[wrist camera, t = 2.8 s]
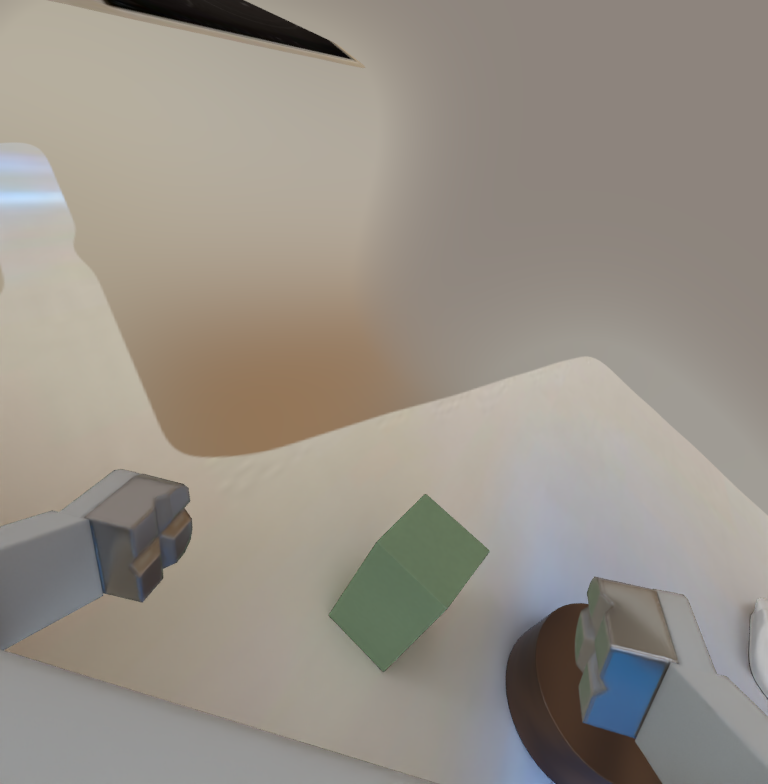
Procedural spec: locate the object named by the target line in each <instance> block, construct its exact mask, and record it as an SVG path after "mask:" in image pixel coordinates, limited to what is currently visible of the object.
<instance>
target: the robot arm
mask: <svg viewBox="0 0 768 784" xmlns="http://www.w3.org/2000/svg"><path fill="white" fill-rule="evenodd" d="M189 502H190V496H189V488H188V487H187V486H185V485H184V484H182V483H178V482H174V481H170V480H166V479H162V478H158V477H154V476H150V475H146V474H140V473H136V472H132V471H128V470H124V469H119V470H114V471H113V472H111V473H110V474H109V475H107V476H106V477H105V478H103V479H102V480H101V481H99V482H98V483H97V484H95V485H94V486H93V487H91V488H90V489H89V490H87V491H86V492H85V493H84V494H82V495H81V496H80V497H78V498H77V499H76V500H74V501H73V502H72V503H70V504H69V505H68V506H66V507H65V508H64V509H62V510H61V511H60V512H57V511H53V510H52V511H49V512H46V513H43V514H39V515H36V516H33V517H30V518H26V519H23V520H20V521H17V522H13V523H10V524H7V525H4V526H0V784H438V783H434V782H431V781H428V780H425V779H421V778H418V777H415V776H411V775H408V774H405V773H402V772H398V771H395V770H392V769H389V768H385V767H382V766H379V765H375V764H372V763H369V762H366V761H362V760H359V759H356V758H353V757H349V756H346V755H343V754H340V753H336V752H333V751H330V750H326V749H323V748H320V747H317V746H313V745H310V744H307V743H304V742H300V741H297V740H294V739H291V738H287V737H284V736H281V735H278V734H274V733H271V732H268V731H265V730H261V729H258V728H255V727H252V726H248V725H245V724H242V723H239V722H235V721H232V720H229V719H226V718H222V717H219V716H216V715H213V714H209V713H206V712H203V711H200V710H196V709H193V708H190V707H187V706H183V705H180V704H177V703H174V702H170V701H167V700H164V699H161V698H157V697H154V696H151V695H148V694H144V693H141V692H138V691H134V690H131V689H128V688H125V687H121V686H118V685H115V684H112V683H108V682H105V681H102V680H99V679H95V678H92V677H89V676H86V675H82V674H79V673H76V672H72V671H69V670H66V669H63V668H59V667H56V666H53V665H50V664H46V663H43V662H40V661H37V660H33V659H30V658H27V657H24V656H20V655H17V654H14V653H11V652H7V651H4V650H5V649H7V648H8V647H10V646H12V645H14V644H16V643H17V642H19V641H21V640H23V639H25V638H27V637H28V636H30V635H32V634H34V633H36V632H38V631H39V630H41V629H43V628H45V627H47V626H49V625H50V624H52V623H54V622H56V621H58V620H59V619H61V618H63V617H65V616H67V615H69V614H70V613H72V612H74V611H76V610H78V609H80V608H81V607H83V606H85V605H87V604H89V603H90V602H92V601H94V600H96V599H98V598H100V597H101V596H103V593H105V594H109V595H113V596H117V597H121V598H126V599H130V600H134V601H138V602H143V601H144V600H145V599H146V598H147V597H148V595H149V594H150V593H151V592H152V591H153V590H154V588H155V587H156V586H157V585H158V584H159V583H160V581H161V580H162V579H163V569H164V568H166V567H168V566H170V565H173V564H175V563H177V562H178V560H179V559H180V558H181V557H182V555H183V554H184V553H185V551H186V549H187V546H188V544H189V542H190V540H191V534H192V518H191V517H190V515H189V514H188V513H187V511H186V510H185V507H186V506H187V504H188V503H189ZM587 596H588V603H589V606H588V607H586V608H585V609H583V610H581V613H580V616H579V619H578V623H577V628H576V635H575V660H576V665H577V666H578V668H579V669H580V670H581V672H582V673H583V675H582V678H581V681H580V683H579V686H578V688H579V697H580V706H581V714H582V723H586V724H589V725H592V726H595V727H599V728H602V729H605V730H609V731H612V732H615V733H619V734H622V735H625V736H629V737H632V738H635V739H636V740H635V742H636V744H637V745H638V747H639V748H640V750H641V751H642V753H643V754H644V756H645V757H646V759H647V761H648V762H649V764H650V765H651V767H652V768H653V770H654V771H655V773H656V775H657V776H658V778H659V779H660V781H661V782H662V784H768V716H767V715H766V714H765V713H764V712H763V711H762V710H761V709H760V708H758V707H757V706H756V705H755V704H754V703H753V702H752V701H751V700H750V699H749V698H748V697H747V696H746V695H745V694H744V693H743V692H742V691H741V690H740V689H739V688H738V687H737V686H736V685H735V684H734V683H733V682H732V681H731V680H730V679H729V678H727V677H726V676H722V675H718V674H717V673H716V670H715V668H714V665H713V663H712V660H711V658H710V655H709V652H708V650H707V647H706V645H705V642H704V639H703V637H702V634H701V632H700V629H699V627H698V624H697V621H696V619H695V616H694V614H693V611H692V608H691V606H690V603H689V601H688V599H687V598H686V597H685V596H684V595H682V594H677V593H672V592H667V591H662V590H657V589H649V588H645V587H640V586H635V585H631V584H626V583H622V582H617V581H613V580H608V579H603V578H599V577H594V578H593V579H592V581H591V583H590V585H589V588H588V591H587Z"/></svg>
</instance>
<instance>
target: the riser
mask: <svg viewBox="0 0 768 784" xmlns="http://www.w3.org/2000/svg"><path fill="white" fill-rule="evenodd" d="M588 606H589V604H582V603H578V604H569V605H565V606H562V607H560V608H558V609H557V610H555V611H554V612H552V613H551V614H549V615H548V616H547V617H545V618H544V619H543V620H541V621H540V622H539V623H537V624H536V625H535V626H533V627H532V628H531V629H529V630H528V631H527V632H525V633H524V634H523V635H522V636H521V637H520V638H519V639H518V641H517V642H516V644H515V645H514V647H513V649H512V651H511V653H510V657H509V660H508V665H507V671H506V690H507V698H508V704H509V708H510V712H511V715H512V719H513V721H514V724H515V727H516V729H517V732H518V734H519V736H520V738H521V740H522V742H523V744H524V745H525V747H526V749H527V750H528V752H529V754H530V755H531V757H532V758H533V759H534V761H535V762H536V763H537V765H538V766H539V767H540V768H541V769H542V770H543V771H544V773H545V774H546V775H547V776H548V777H549V778H550V779H551V780H553V781H554V782H555V783H556V784H662V782H661V781H660V779H659V778H658V776H657V775H656V773H655V771H654V770H653V768H652V767H651V765H650V764H649V762H648V761H647V759H646V757H645V756H644V754H643V753H642V751H641V750H640V748H639V747H638V745H637V744H636V742H635V740H636V739H635V738H632V737H629V736H625V735H622V734H619V733H615V732H612V731H609V730H605V729H602V728H599V727H595V726H592V725H589V724H586V723H582V714H581V706H580V697H579V688H578V686H579V683H580V681H581V678H582V675H583V673H582V672H581V670H580V669H579V668H578V666H577V665H576V660H575V635H576V628H577V623H578V619H579V616H580V613H581V610H583V609H585V608H586V607H588Z"/></svg>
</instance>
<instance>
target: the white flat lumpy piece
mask: <svg viewBox="0 0 768 784" xmlns="http://www.w3.org/2000/svg"><path fill="white" fill-rule="evenodd" d="M749 660H750V667H751V671H752V674H753V677H754V679H755V681H756V682H757V684H758V686H759V687H760V689H761V690H762V691H763V693H764V694H765V696H766V697H767V698H768V599H765V598H758V599H757V601H756V604H755V611H754V612H753V613H752V614H751V618H750V645H749Z"/></svg>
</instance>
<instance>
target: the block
mask: <svg viewBox="0 0 768 784" xmlns="http://www.w3.org/2000/svg"><path fill="white" fill-rule="evenodd" d="M489 552H490V551H489V550H488V549H487V548H486V547H485V546H484V545H483V544H482V543H480V542H479V541H478V540H477V539H476V538H475V537H474V536H473V535H471V534H470V533H469V532H468V531H467V530H466V529H465V528H464V527H462V526H461V525H460V524H459V523H458V522H457V521H456V520H455V519H453V518H452V517H451V516H450V515H449V514H448V513H447V512H446V511H445V510H443V509H442V508H441V507H440V506H439V505H438V504H437V503H436V502H434V501H433V500H432V499H431V498H430V497H429V496H428V495H427V494H425V495H424V496H423V497H422V498H420V499H419V500H418V501H417V502H416V503H415V504H414V505H413V506H412V507H411V508H410V509H409V510H408V511H407V512H406V513H405V514H404V515H403V516H402V517H401V518H400V519H399V520H398V521H397V522H396V523H395V524H394V525H393V526H392V527H391V528H390V529H389V530H388V531H387V532H386V533H385V534H384V535H383V536H382V537H381V538H380V539H379V540H378V541H377V542H376V544H375V545H374V547H373V548H372V550H371V551H370V553H369V554H368V556H367V557H366V559H365V560H364V562H363V563H362V565H361V566H360V568H359V569H358V571H357V573H356V574H355V576H354V577H353V579H352V580H351V582H350V583H349V585H348V586H347V588H346V589H345V591H344V592H343V594H342V595H341V597H340V598H339V600H338V602H337V603H336V605H335V606H334V608H333V609H332V611H331V612H330V614H329V616H330V617H331V618H332V619H333V620H334V621H335V622H336V623H337V624H338V625H339V626H340V627H341V628H342V630H343V631H344V632H345V633H346V634H347V635H348V636H349V637H350V638H351V639H352V640H353V641H354V642H355V643H356V644H357V645H358V646H359V647H360V648H361V649H362V650H363V651H364V652H365V653H366V654H367V656H368V657H369V658H370V659H371V660H372V661H373V662H374V663H375V664H376V665H377V666H378V667H379V668H380V669H381V670H382V671H383V672H384V671H385V670H386V669H387V668H388V667H389V666H390V665H391V664H392V663H393V662H394V661H395V660H396V659H397V658H398V657H399V656H400V655H401V654H402V653H403V652H404V651H405V650H406V649H407V648H408V647H409V646H410V645H411V644H412V643H413V642H414V641H415V640H416V639H417V638H418V637H419V636H420V635H421V634H422V633H423V632H424V631H425V630H426V629H427V628H428V627H429V626H430V625H431V624H432V623H433V622H434V621H435V620H436V619H437V618H438V617H439V616H440V615H441V614H442V613H443V612H444V611H445V610H446V609H447V608H448V607H449V606H450V604H451V603H452V602H453V600H454V599H455V598H456V596H457V595H458V594H459V592H460V591H461V590H462V588H463V587H464V585H465V584H466V583H467V581H468V580H469V579H470V577H471V576H472V575H473V573H474V572H475V571H476V569H477V568H478V567H479V565H480V564H481V563H482V561H483V560H484V559H485V557H486V556H487V555H488V553H489Z"/></svg>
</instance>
